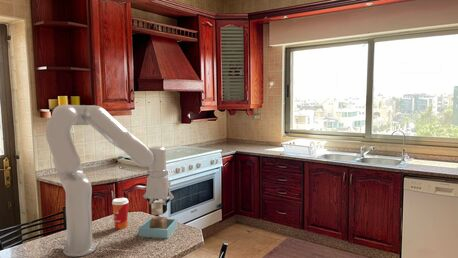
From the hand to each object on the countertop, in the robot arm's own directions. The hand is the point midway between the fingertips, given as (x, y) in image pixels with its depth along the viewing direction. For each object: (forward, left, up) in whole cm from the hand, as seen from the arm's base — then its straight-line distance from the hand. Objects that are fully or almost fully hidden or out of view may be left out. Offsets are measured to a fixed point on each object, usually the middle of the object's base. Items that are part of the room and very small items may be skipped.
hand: (158, 211), depth 158 cm
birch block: (0, 0, -1) cm, 1 cm away
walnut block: (0, 0, -9) cm, 9 cm away
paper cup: (-20, +2, -10) cm, 23 cm away
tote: (0, 0, -10) cm, 10 cm away
